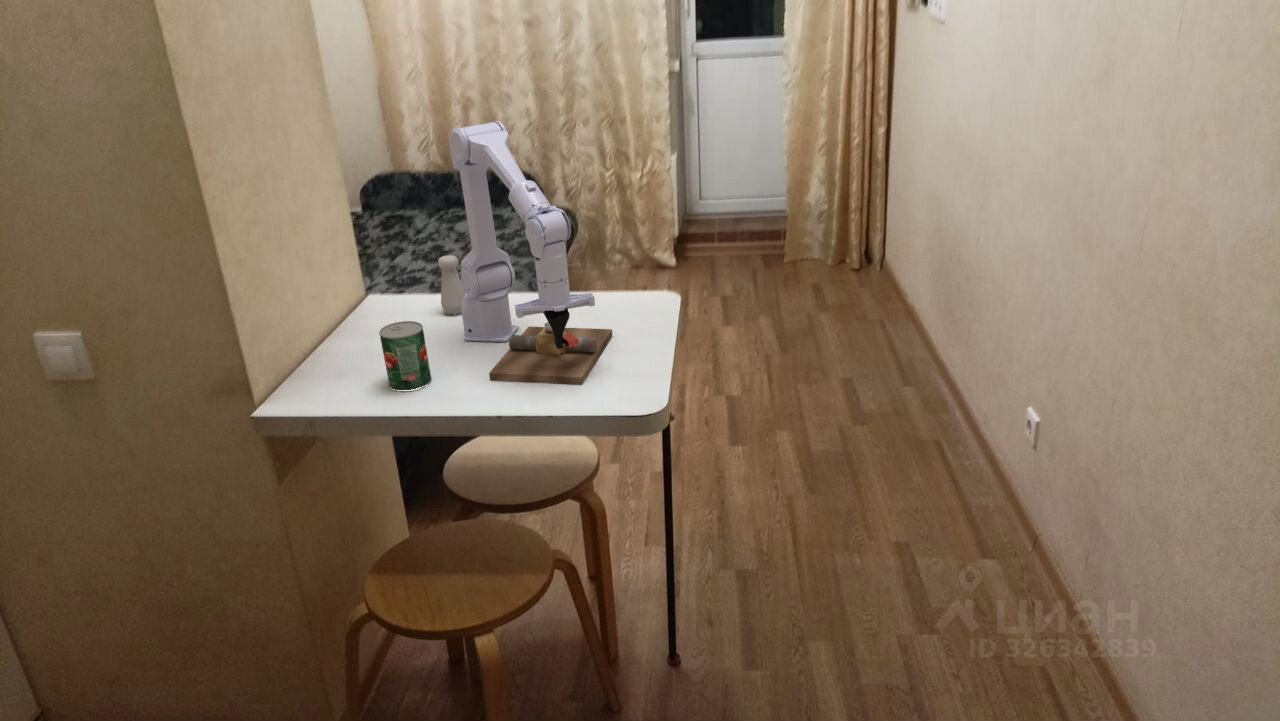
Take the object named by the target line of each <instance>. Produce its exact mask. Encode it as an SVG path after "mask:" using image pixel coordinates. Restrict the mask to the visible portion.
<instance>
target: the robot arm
mask: <svg viewBox="0 0 1280 721" xmlns="http://www.w3.org/2000/svg"><path fill="white" fill-rule="evenodd" d="M510 139H511V138H510V134H509V133H508V130H507V128H506V127H505V126H504V124H503V123H502V122H501V121H499V120H495V121H494V120H493V121H492V122H488V123H487V122H486V123H482V124H481V123H480V124H477V125H475V124H474V125H470V126H465V127H464V126H463V127H455V128H453V129H452V130H451V133H450V135H449V136H448V145H449V151H450V158H451V162H452V167H453V169H455V170H459V174H460V175H459V176H460V183H461V187H462V188H461V189H462V195H463V200H464V206H465V207H464V208H465V212H466V220H467V225H468V232H469V237H470V238H469V239H470V243H471V250H470V251H469V253H467V254H466V255H465V257H464V258H463V259H462V260H461V261H460V267H461V269H460V270H461V274H460V281H461V284H462V287H463V290H464V292H465V296H464V298H463V301H462V314H461V315H462V322H463V323H462V324H463V330H464V337H463V340H464V341H468V342H469V341H470V342H471V341H473V342H492V343H493V342H497V343H498V342H500V343H501V342H502V343H507V342H509V338H510V336H511V335H515V333H516V331H518V330H519V328H520V326H519V325H513V324H512V316H511V315H512V314H511V308H510V307H511V306H510V301H509V300H510V299H509V294H511V293H512V291H511V290H512V288H513V287H514V285H515V281H516V274H515V270H514V267H513V265H512V262H511V258H510V255H509V253H507V252H506V251H504V250H503V249H500V248H498V242H497V237H496V236H497V235H496V230H495V224H494V223H495V221H494V217H493V210H492V203H491V196H490V190H489V184H488V177H487V171H488V169H489V167H490V168H491V169H492V171H493V172H494V174H496V176H497V177H498V178H499V179H500V181H501V182H502V183H503V184H504V185H505V187H506V188H507V189H508V190H509V194H508V201H509V202H510V205H512V207H513V209H514V210H515V211H516V214H518V215H519V217H520V219H521V220H522V222H523V223H524V225H525V229H524V232H525V233H524V234H525V237H526V239H527V241H528V244H529V247H530V252H531V255H532V256H534V266H535V274H536V284H537V286H536V287H537V293H538V294H537V295H538V298H537V299H533V300H530V301H527V302H523V303H519V304H515V305H514V309H515V315H516V317H517V319H521V318H524V316H525V317H526V316H531V315H537V314H543V315H544V317H545V320H547V322H549V324H550V326H551V328H552V331H553V333H554V340H555V346H556V347H557V349H561V348H563V342H562V337H563V333H564V329H565V328H566V327H567V324H568V322H569V320H570V312H569V310H570V309H575V308H580V307H581V308H583V307H587V306H588V307H595V306H596V302H595V295H594V294H593V293H592V292H590V293H589V292H588V293H572V294H571V293H570V292H571V291H570V281H569V280H570V279H569V271H568V269H569V268H568V259H567V247H566V241H568V240H569V239H570V237H571V232H572V229H571V223H570V218H568V216H567V214H566V212H565V211H564V210H563V209H561V208H558V207H557V206H556V205H551V204H550V202H549V200H548V198H546V196H545V194H544V193H543V192H542V190H541V189H540V187H539V186H538V184H537V183H536V182H535V181H533V180H528V179H526V177H525V175H524V173H523V172H522V170H521V169H520V167H519V164H518V163H517V161H516V159H515V158H514V155H513V154H512V152H511V141H510Z"/></svg>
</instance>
